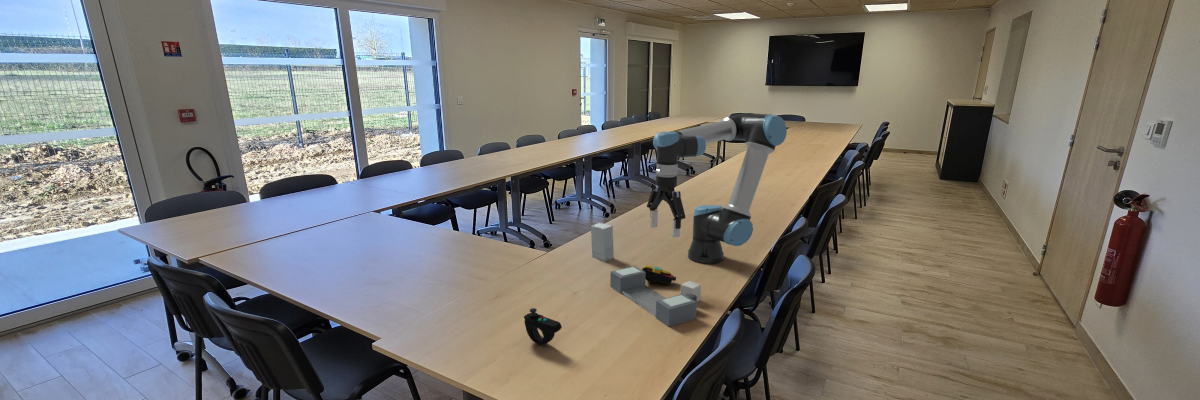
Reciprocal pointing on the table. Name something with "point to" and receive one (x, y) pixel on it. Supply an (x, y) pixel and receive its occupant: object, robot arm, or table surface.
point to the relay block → (691, 289)
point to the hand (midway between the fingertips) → (664, 231)
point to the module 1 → (627, 278)
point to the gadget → (658, 275)
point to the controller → (540, 327)
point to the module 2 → (676, 310)
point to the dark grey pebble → (692, 296)
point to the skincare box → (602, 241)
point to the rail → (643, 297)
